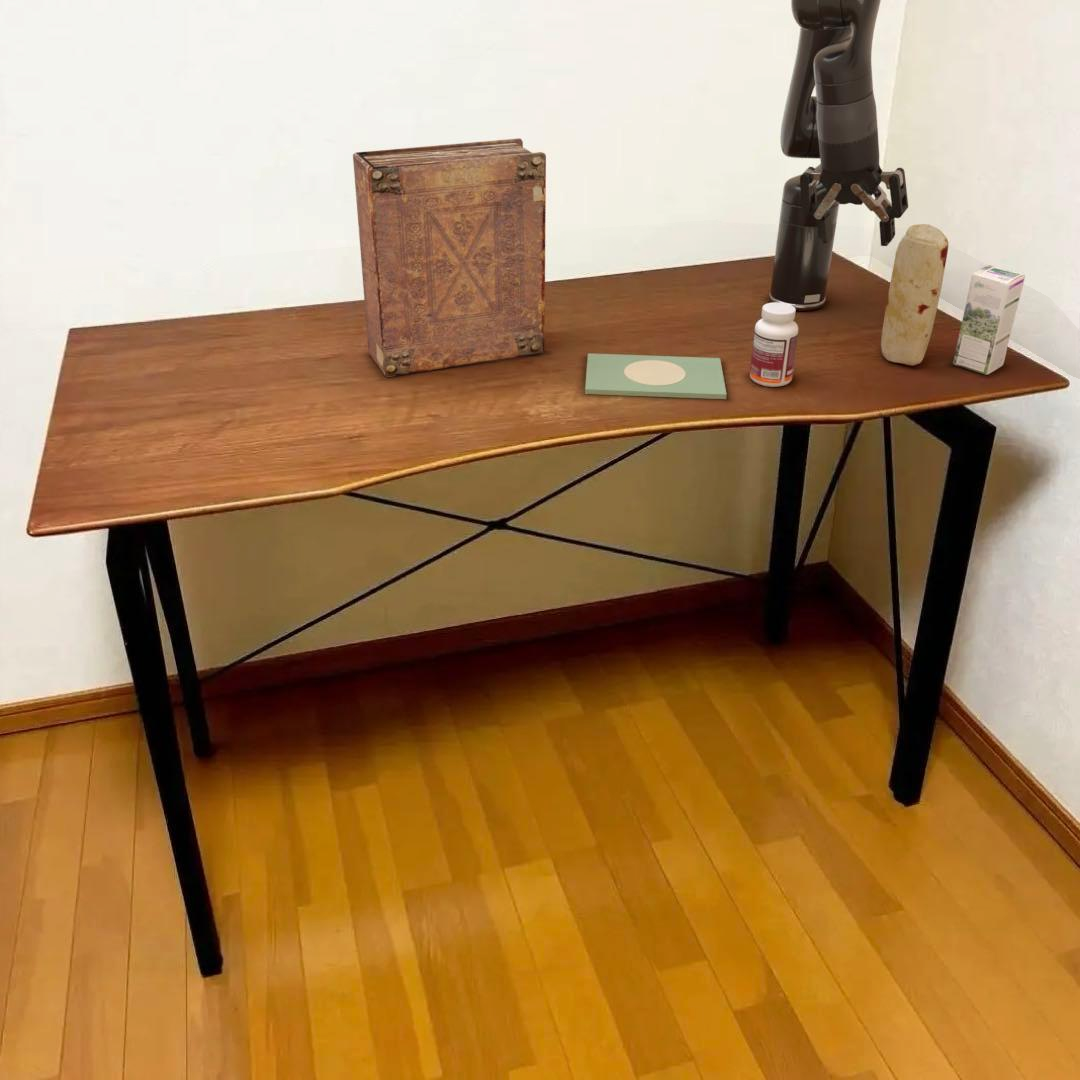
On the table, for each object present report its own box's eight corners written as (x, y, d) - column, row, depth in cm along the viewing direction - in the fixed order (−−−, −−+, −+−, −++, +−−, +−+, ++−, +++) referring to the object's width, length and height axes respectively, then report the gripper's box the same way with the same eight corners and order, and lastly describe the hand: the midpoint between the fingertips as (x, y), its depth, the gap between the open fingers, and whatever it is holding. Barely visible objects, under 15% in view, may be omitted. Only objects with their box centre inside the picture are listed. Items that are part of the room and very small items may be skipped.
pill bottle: (775, 368, 167) (784, 297, 162) (800, 383, 163) (811, 311, 157) (740, 375, 165) (748, 303, 159) (765, 391, 160) (774, 318, 155)
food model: (936, 369, 168) (964, 237, 157) (894, 371, 167) (920, 239, 156) (907, 344, 176) (933, 217, 165) (867, 346, 175) (890, 219, 164)
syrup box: (1004, 365, 169) (1027, 272, 161) (986, 376, 166) (1009, 282, 158) (968, 354, 173) (990, 263, 165) (950, 365, 169) (971, 272, 161)
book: (522, 332, 178) (523, 137, 162) (544, 354, 171) (547, 152, 155) (367, 355, 170) (352, 152, 154) (384, 378, 163) (369, 167, 147)
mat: (587, 358, 170) (587, 352, 169) (719, 362, 169) (720, 357, 168) (584, 394, 159) (585, 388, 158) (726, 399, 158) (726, 393, 157)
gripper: (911, 115, 144) (916, 231, 154) (808, 117, 152) (819, 227, 162) (889, 141, 140) (896, 258, 150) (784, 141, 148) (797, 252, 158)
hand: (856, 242), depth 156 cm, fingers open, 8 cm apart
